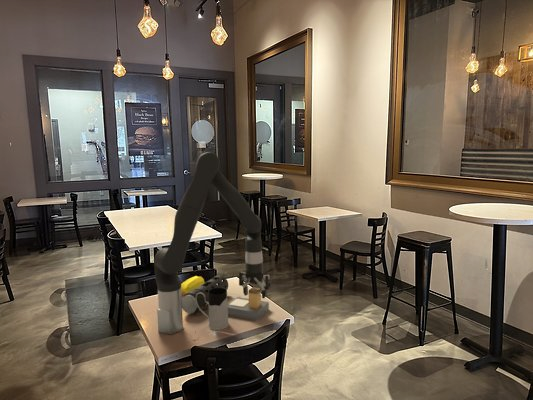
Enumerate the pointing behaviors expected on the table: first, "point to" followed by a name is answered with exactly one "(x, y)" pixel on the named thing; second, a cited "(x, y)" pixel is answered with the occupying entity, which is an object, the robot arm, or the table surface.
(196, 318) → the table surface
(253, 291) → the plug
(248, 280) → the robot arm
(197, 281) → the yellow banana
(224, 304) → the white pitcher
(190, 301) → the muzzle brake
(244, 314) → the block
